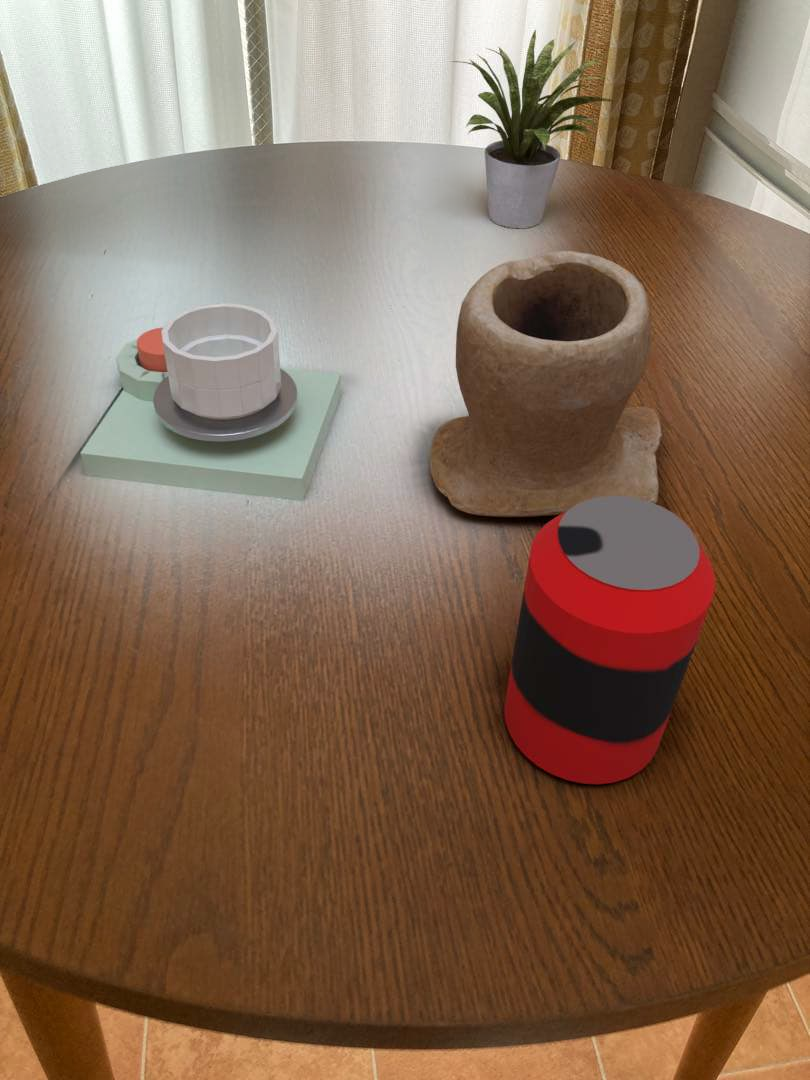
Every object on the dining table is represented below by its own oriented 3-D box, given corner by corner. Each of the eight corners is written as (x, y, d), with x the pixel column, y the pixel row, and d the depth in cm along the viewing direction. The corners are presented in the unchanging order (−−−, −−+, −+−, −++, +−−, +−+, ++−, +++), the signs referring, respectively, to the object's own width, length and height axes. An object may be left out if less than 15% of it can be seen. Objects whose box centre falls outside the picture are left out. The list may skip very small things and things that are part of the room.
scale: (74, 475, 58) (62, 430, 56) (145, 370, 67) (137, 327, 65) (303, 502, 57) (301, 457, 54) (343, 391, 66) (342, 348, 64)
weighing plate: (133, 433, 56) (131, 426, 55) (180, 356, 62) (179, 350, 62) (278, 449, 55) (277, 442, 55) (311, 370, 62) (310, 363, 61)
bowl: (156, 418, 56) (145, 353, 53) (191, 360, 61) (182, 298, 58) (265, 430, 56) (260, 365, 52) (292, 371, 61) (288, 309, 58)
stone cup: (439, 556, 54) (457, 324, 44) (422, 436, 62) (434, 220, 52) (693, 550, 55) (767, 322, 45) (641, 433, 63) (693, 221, 53)
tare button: (132, 371, 62) (128, 351, 60) (150, 344, 64) (147, 324, 63) (184, 376, 61) (181, 356, 60) (201, 349, 64) (198, 329, 63)
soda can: (492, 665, 48) (519, 483, 40) (636, 660, 48) (691, 479, 40) (516, 793, 42) (553, 611, 34) (678, 785, 43) (752, 605, 34)
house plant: (486, 265, 82) (505, 66, 71) (408, 208, 91) (415, 23, 80) (611, 235, 88) (646, 46, 77) (526, 184, 96) (547, 8, 85)
